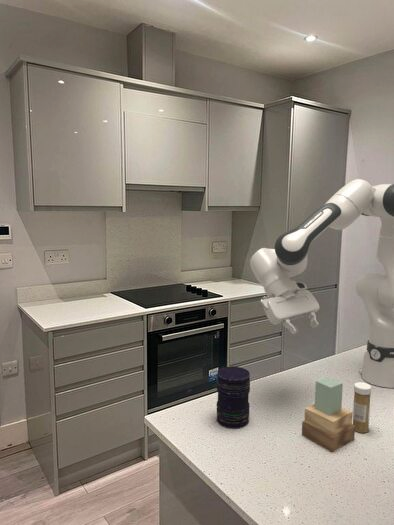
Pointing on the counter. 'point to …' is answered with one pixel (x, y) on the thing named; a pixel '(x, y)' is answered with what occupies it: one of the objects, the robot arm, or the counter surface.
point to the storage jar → (233, 397)
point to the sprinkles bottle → (361, 407)
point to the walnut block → (328, 437)
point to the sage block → (328, 396)
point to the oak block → (328, 420)
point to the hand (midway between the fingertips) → (306, 329)
